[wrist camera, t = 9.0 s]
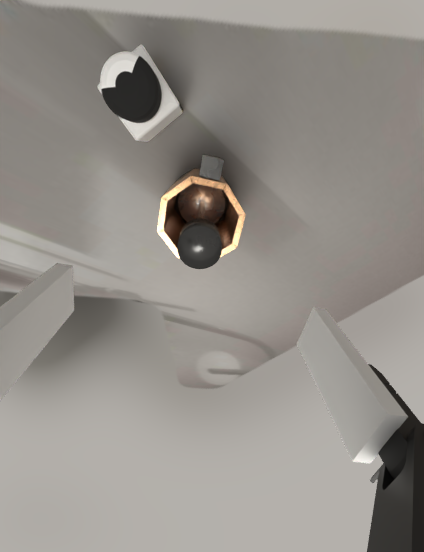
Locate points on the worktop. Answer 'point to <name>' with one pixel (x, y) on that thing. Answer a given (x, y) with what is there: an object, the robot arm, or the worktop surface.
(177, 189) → the press carafe
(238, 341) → the worktop surface
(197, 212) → the plunger
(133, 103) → the medicine bottle
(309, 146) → the worktop surface
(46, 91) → the worktop surface
